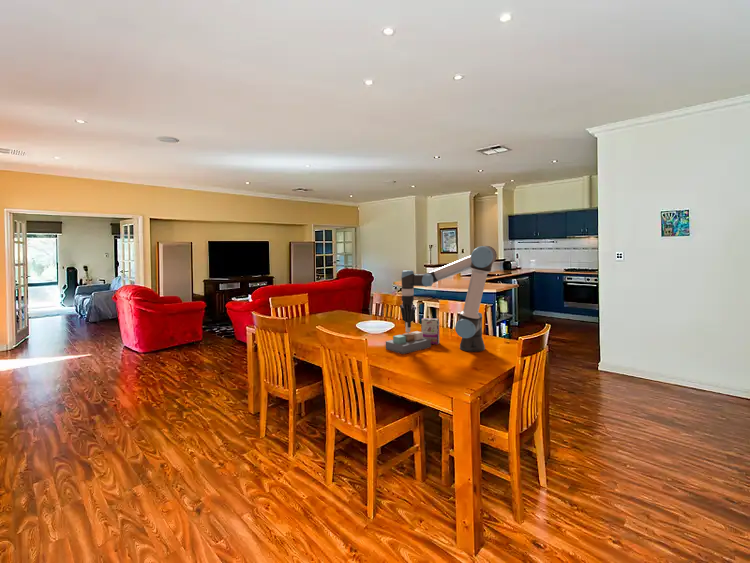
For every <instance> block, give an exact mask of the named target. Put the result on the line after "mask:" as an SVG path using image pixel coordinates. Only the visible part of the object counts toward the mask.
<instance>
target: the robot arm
mask: <svg viewBox="0 0 750 563" xmlns="http://www.w3.org/2000/svg"><path fill="white" fill-rule="evenodd" d="M497 254H498V253H497V251H496V249H495V248H493V247H492V246H489V245H481V246H477V247H476V248H474V249H473V251H472V252H471V255H469V256H468V255H467V256H465V257H463V258H461V259H459V260H456V261H454V262H451V263H448V264H446V265H444V266H441V267H439V268H436V269H433V270H431V271H428V272H425V273H414V272H415V271H414V270H412V269H411V270H410V269H409V270H406V269H405V270H402V271H401V302H402V303H401V304H399V308H400V311H401V312H400V314H401V319H402V321H404V326H405V333H411V327H412V323H413V322H414V319H415V314H416V310H417V307H416V306H415V305H414V300H415V296H414V294H415V293H414V290H415V289H414V288H415V287H425V288H427V287H432V286H433V284H435V283H437V282H439V281H440V282H441V281H442V280H445V279H447V278H450V277H453V276H455V275H458V274H460V273H463V272H466V271H469V270H471V274H470V275H471V276H470V280H469V284H468V288H467V292H466V297H465V301H464V304H463V310H461V311H460V313H459V316H458V320H457V321H456V323H455V325H454V328H455V332H456V334H457V335H458V337H460V338H461V340H460V343H459V349H460V350H461V351H465V352H469V353H470V352H471V353H473V352H474V353H478V352H483V351H485V350H486V345H485V343H484V340H483V314H482V312H479V310H480V307H481V303H482V299H483V293H484V289H485V285H486V281H487V276H488V274H489V273H491V272H492V267H493V264H494V263H495V262H496V260H497V257H498V256H497Z"/></svg>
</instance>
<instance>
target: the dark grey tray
mask: <svg viewBox="0 0 750 563" xmlns="http://www.w3.org/2000/svg"><path fill="white" fill-rule="evenodd" d="M430 348H432V344H431V339H427V338H423V339H420V340H415V341H411V342H406V343H402V344H396V343H393V339H390V340H386V341H385V350H388V351H390V352H394V353H397V354H401V355H405V354H409V353H413V352H417V351H422V350H424V349H430Z"/></svg>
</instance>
